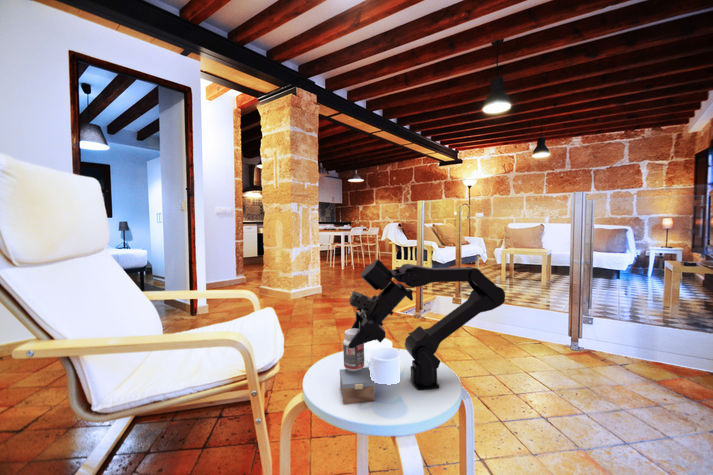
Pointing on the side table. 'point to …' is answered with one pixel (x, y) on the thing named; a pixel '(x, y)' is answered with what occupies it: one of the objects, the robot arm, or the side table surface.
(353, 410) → the side table surface
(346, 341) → the pill bottle
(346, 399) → the walnut box
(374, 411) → the side table surface
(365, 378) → the box lid
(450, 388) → the side table surface
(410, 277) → the robot arm
